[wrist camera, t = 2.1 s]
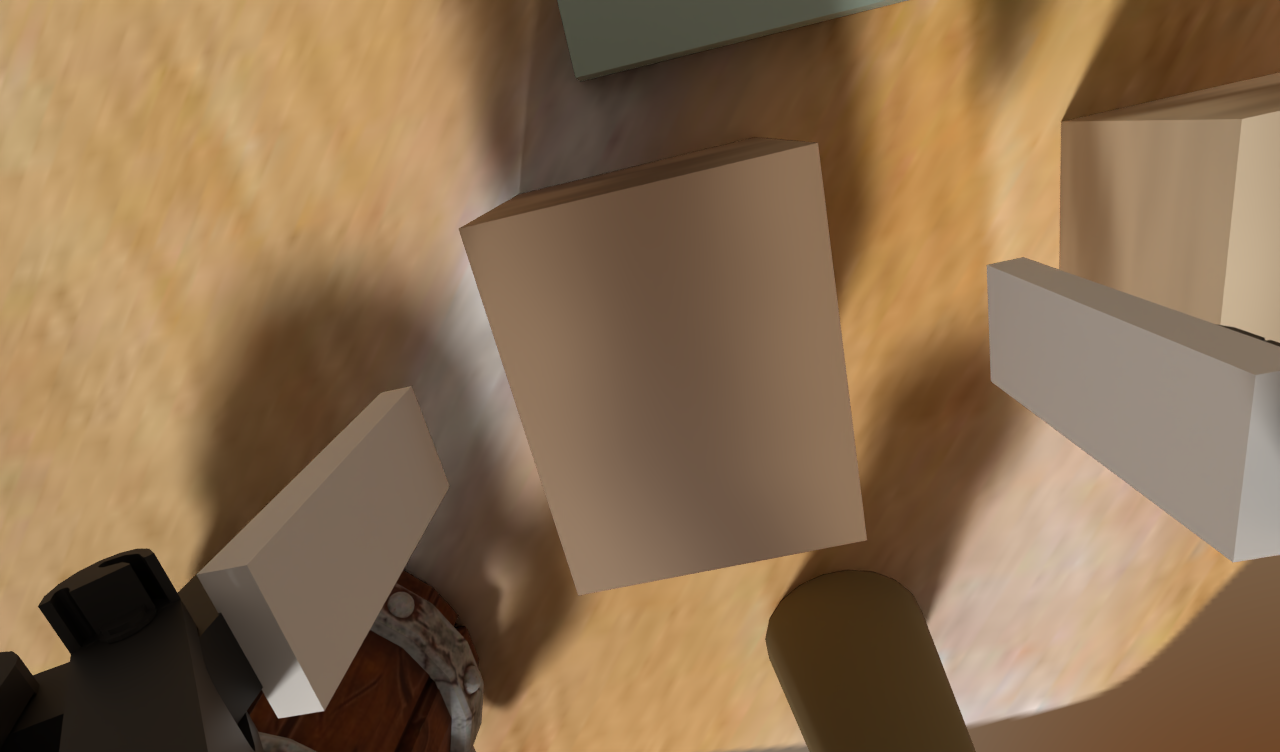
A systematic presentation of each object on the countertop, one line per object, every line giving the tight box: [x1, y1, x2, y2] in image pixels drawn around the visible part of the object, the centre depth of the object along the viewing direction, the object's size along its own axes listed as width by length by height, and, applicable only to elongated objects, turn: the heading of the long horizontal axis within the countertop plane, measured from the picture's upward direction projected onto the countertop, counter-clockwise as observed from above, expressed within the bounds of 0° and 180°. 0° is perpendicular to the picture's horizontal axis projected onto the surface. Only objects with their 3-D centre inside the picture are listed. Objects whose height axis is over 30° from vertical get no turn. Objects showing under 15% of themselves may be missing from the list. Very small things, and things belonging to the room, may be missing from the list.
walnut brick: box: [459, 137, 867, 596], centre depth 17 cm, size 7×9×7 cm
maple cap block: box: [1059, 72, 1280, 343], centre depth 17 cm, size 6×8×6 cm
